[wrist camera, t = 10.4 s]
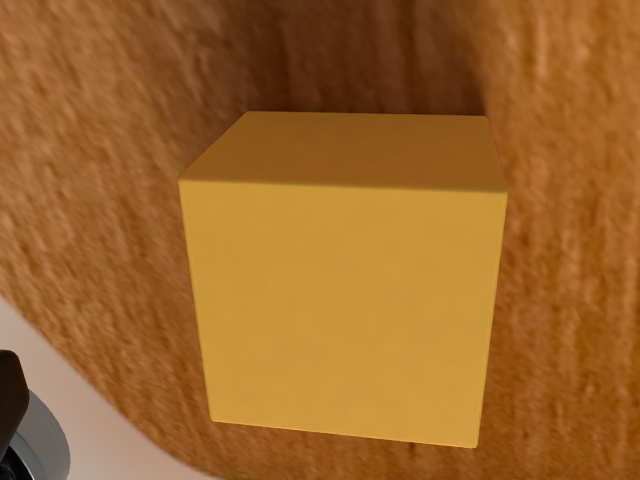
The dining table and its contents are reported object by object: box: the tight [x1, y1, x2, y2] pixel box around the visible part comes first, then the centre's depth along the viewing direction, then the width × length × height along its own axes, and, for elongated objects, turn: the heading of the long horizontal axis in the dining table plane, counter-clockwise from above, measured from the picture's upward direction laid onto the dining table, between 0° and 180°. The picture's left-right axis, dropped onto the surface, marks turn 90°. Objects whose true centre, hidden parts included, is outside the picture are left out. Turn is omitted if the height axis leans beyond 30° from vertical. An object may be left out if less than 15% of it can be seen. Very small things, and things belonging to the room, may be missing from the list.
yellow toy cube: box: [178, 111, 508, 448], centre depth 12 cm, size 5×5×4 cm
